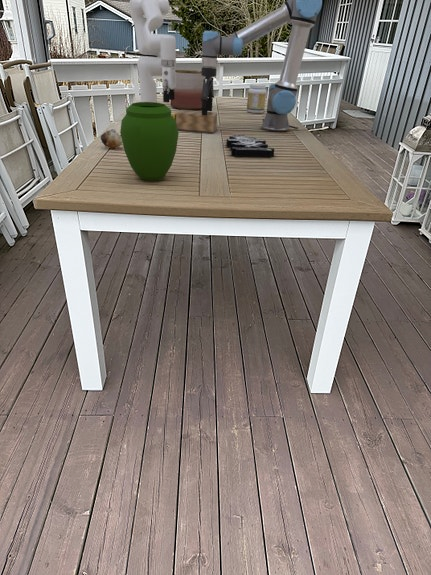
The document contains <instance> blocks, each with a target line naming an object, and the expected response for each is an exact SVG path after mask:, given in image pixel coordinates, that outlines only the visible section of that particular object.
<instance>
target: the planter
mask: <svg viewBox="0 0 431 575" xmlns="http://www.w3.org/2000/svg"><path fill="white" fill-rule="evenodd" d="M175 73H176V88H174V90H175V91H173V92H174V93H175V99H174V100H170V106H171V107H172V108H174V109H177V110H191V111H202V101H201V98H202V90H203V80H204V79H205V76H202V75H201V70H196V69H195V70H194V69H175Z"/></svg>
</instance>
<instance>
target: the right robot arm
mask: <svg viewBox="0 0 431 575" xmlns="http://www.w3.org/2000/svg"><path fill="white" fill-rule="evenodd" d="M322 6H323V0H286V1H284V2H282V4H281V6H279V7H278V8H277V9H275V10H272V11H271V12H269V13H268V14H266V15H264V16H262V17H261V18H259V19H256V20H255V21H253V22H251V23H250V24H248V25H246V26H245V27H243V28H241V29H239V30H238V31H236V32H234V33H232V34H230V35H229V36H220V35H219V31H217V30H215V31H214V30H204V31H203V32H202V41H201V42H202V48H201V70H200V71H201V75H202V76H205V79H204V80H203V90H202V98H201V101H202V109H201V111H202V115H207V112H213V100H214V99H215V95H214V94H215V93H214V92H215V91H214V78H215V77H216V76H217V66H218V63H219V60H218V55H224V56H234V57H237V56H242V54H243V48H244V47H247V45H249V44H251V43H253V42H255V41H257V40H259V39H260V38H262V37H265V36H267V35H268V34H270V33H272V32H274V31H275V30H277V29H279V28H280V27H282V26H284V25H286V24H288V25H290V24H291V25H292V26H291V29H290V34H289V38H288V42H287V46H286V51H285V54H284V60H283V63H282V66H281V72H280V76H279V79H278V81H276V82H275V83H271V84H269V87H268V93H267V94H268V96H267V104H266V113H265V117H264V118H262V124H261V129H262V130H264V131H267V132H273V133H284V132H288V131H289V130H290V128H291V129H295V130H298V129H299V127H298V126H293V125H289V118H288V114H290V113H291V112H293V110H294V108H295V107H296V103H297V100H296V99H297V98H296V96H297V93H298V89H299V88H298V85H297V81H298V77H299V73H300V69H301V67H302V66H301V65H302V62H303V57H304V53H305V50H306V47H307V42H308V39H309V34H310V31H311V29H312V28H314V26H315V24H316V21H317V17H318V15H319V13H320V12H321V10H322Z"/></svg>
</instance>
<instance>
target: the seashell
mask: <svg viewBox="0 0 431 575" xmlns="http://www.w3.org/2000/svg"><path fill="white" fill-rule="evenodd" d="M100 140H101V143H102V144H103V145H104V146H105V147H107V148H110V149H116V148H119V147H120V146H122V145H123V142H122V138H121V134H119V133H118V132H117V131H116V129H114V128H112V129H109V130H106V131H104V132H103V133H102V134H101V135H100Z"/></svg>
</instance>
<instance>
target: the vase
mask: <svg viewBox="0 0 431 575" xmlns="http://www.w3.org/2000/svg"><path fill="white" fill-rule="evenodd" d="M125 113H126V114H125V115H124V117H122V119H121V122H120V123H121V124H120V130H119V133H120V134H119V135H120V136H121V138H122V142H123V143H122V147H123V150H124V154H125V155H126V158H127V160H128V163H129V165H130V167H131V168H132V170H133V172H134V173H135V175H136V176H137V177H138V178H139V179H141V180H143V181H145V182H159V181H161V180H163V179H164V178H165V176H166V175H167V174H168V173H169V170H170V169H171V167H172V165H173V162H174V159H175V157H176V156H175V155H176V153H177V147H178V140H179V131H178V128H177V123H176V120H175V119H174V118H173V116H172V109H171V108H170V107H169V106H167V105H166V104H164V103H162V102H157V103H156V102H141V101H138V102H132V103H131V104H130V105H128V107H127V108H125Z"/></svg>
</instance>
